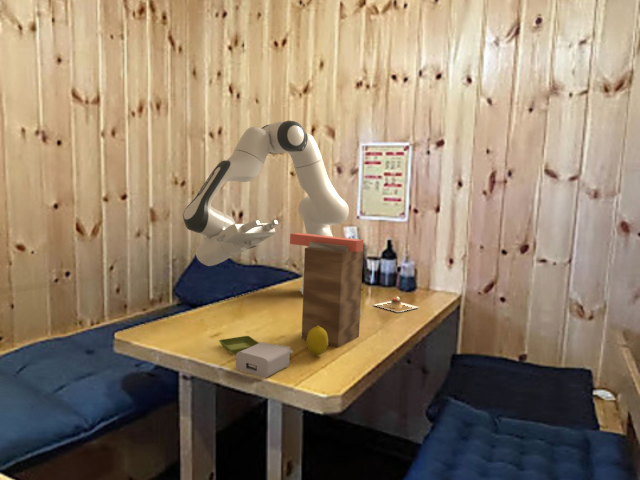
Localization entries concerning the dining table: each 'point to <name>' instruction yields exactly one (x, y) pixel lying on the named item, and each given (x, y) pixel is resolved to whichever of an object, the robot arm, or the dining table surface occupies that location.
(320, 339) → the lemon
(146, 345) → the dining table surface
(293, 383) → the dining table surface
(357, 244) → the salmon red bar
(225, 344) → the green square tray
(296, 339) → the dining table surface
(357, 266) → the wooden knife block
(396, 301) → the dessert
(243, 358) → the charger
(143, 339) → the dining table surface
